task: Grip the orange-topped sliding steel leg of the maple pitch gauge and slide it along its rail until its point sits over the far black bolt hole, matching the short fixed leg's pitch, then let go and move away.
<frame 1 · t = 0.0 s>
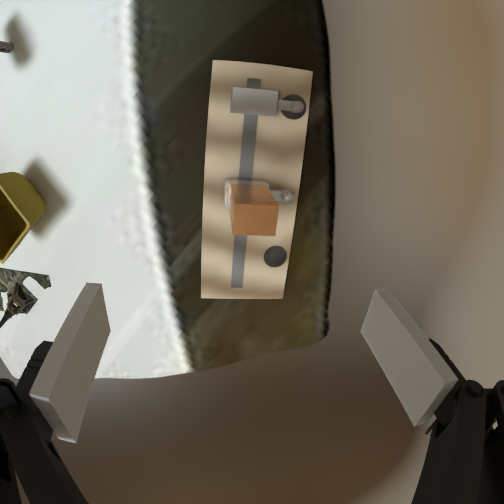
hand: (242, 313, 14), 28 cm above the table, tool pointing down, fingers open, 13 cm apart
eiffel tower figurine: (23, 292, 43), on the table
slide leg: (264, 204, 33), point 8 cm above the table, slide at 11.0 cm
flower pot: (28, 200, 36), on the table
mechanical component: (10, 48, 25), on the table
gauge board: (250, 186, 40), on the table
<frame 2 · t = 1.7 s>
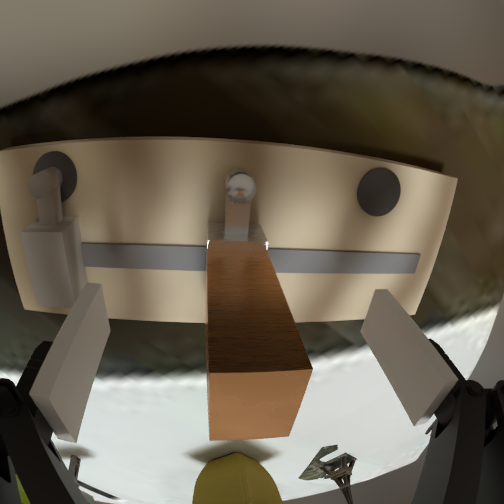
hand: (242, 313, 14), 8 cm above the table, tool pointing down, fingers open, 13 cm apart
eiffel tower figurine: (333, 459, 40), on the table
slide leg: (242, 286, 13), point 8 cm above the table, slide at 11.0 cm
flower pot: (232, 460, 35), on the table
mechanical component: (76, 457, 33), on the table
gauge board: (229, 231, 20), on the table
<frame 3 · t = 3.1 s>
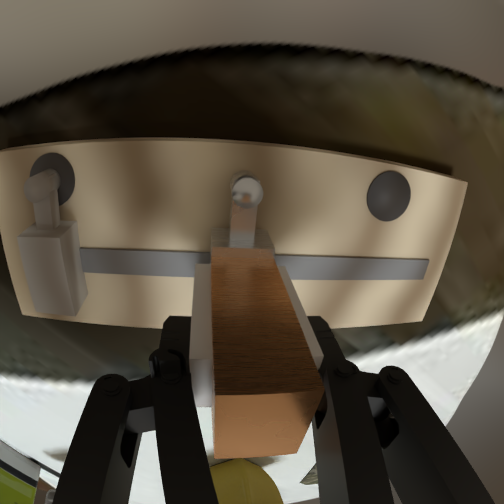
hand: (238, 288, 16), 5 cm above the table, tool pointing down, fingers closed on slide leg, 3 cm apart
eiffel tower figurine: (335, 463, 39), on the table
tea box: (10, 456, 33), on the table
slide leg: (248, 297, 12), point 8 cm above the table, slide at 11.0 cm, touching gripper
flower pot: (234, 464, 34), on the table
mechanical component: (76, 460, 32), on the table
gauge board: (234, 236, 20), on the table
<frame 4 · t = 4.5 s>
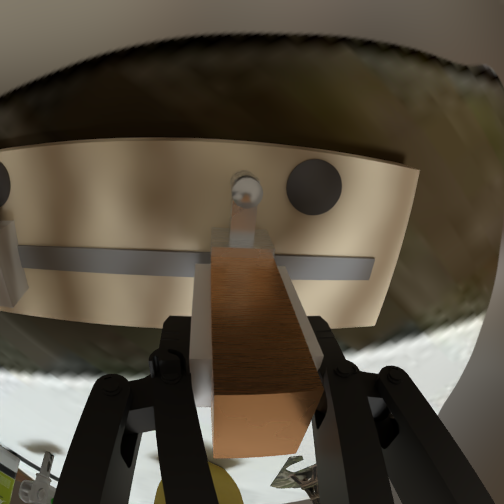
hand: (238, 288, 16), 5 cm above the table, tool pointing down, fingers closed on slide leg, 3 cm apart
eiffel tower figurine: (306, 469, 39), on the table
slide leg: (248, 297, 12), point 8 cm above the table, slide at 16.0 cm, touching gripper
flower pot: (197, 465, 33), on the table
mechanical component: (49, 453, 31), on the table
gauge board: (155, 233, 19), on the table
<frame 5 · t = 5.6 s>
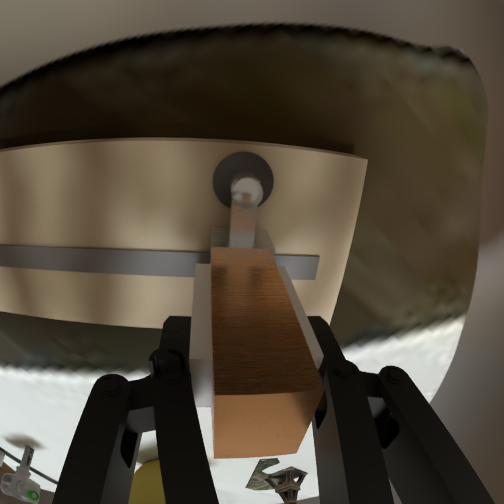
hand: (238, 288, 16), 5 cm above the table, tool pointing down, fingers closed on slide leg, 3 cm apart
eiffel tower figurine: (281, 472, 38), on the table
slide leg: (248, 297, 12), point 8 cm above the table, slide at 20.0 cm, touching gripper
flower pot: (168, 463, 33), on the table
mechanical component: (30, 447, 31), on the table
gauge board: (98, 231, 18), on the table
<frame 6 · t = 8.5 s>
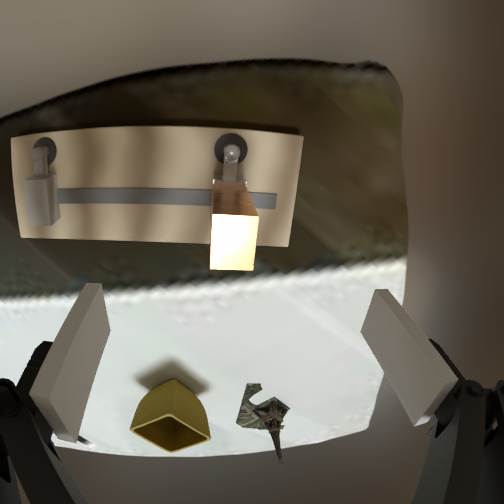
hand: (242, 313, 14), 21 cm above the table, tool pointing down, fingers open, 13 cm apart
eiffel tower figurine: (266, 405, 50), on the table
slide leg: (231, 199, 25), point 8 cm above the table, slide at 20.0 cm
flower pot: (172, 389, 45), on the table
gauge board: (142, 181, 31), on the table
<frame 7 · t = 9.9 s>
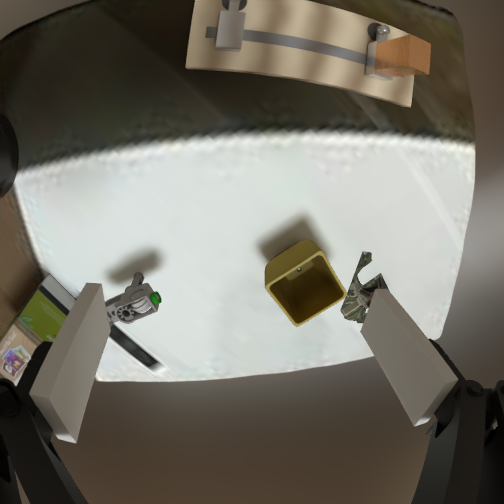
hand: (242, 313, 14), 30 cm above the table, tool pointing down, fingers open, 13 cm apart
eiffel tower figurine: (370, 288, 54), on the table
tea box: (51, 311, 48), on the table
slide leg: (396, 47, 28), point 8 cm above the table, slide at 20.0 cm
flower pot: (292, 260, 48), on the table
mechanical component: (139, 276, 47), on the table
gauge board: (310, 42, 34), on the table
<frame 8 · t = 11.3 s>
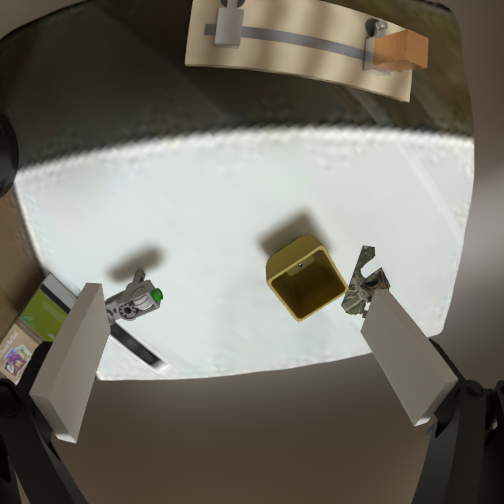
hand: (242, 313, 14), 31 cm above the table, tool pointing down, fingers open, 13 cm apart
eiffel tower figurine: (370, 282, 54), on the table
tea box: (52, 310, 48), on the table
slide leg: (394, 42, 28), point 8 cm above the table, slide at 20.0 cm
flower pot: (293, 255, 49), on the table
mechanical component: (141, 273, 47), on the table
gauge board: (309, 39, 34), on the table
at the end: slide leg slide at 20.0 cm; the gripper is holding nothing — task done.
